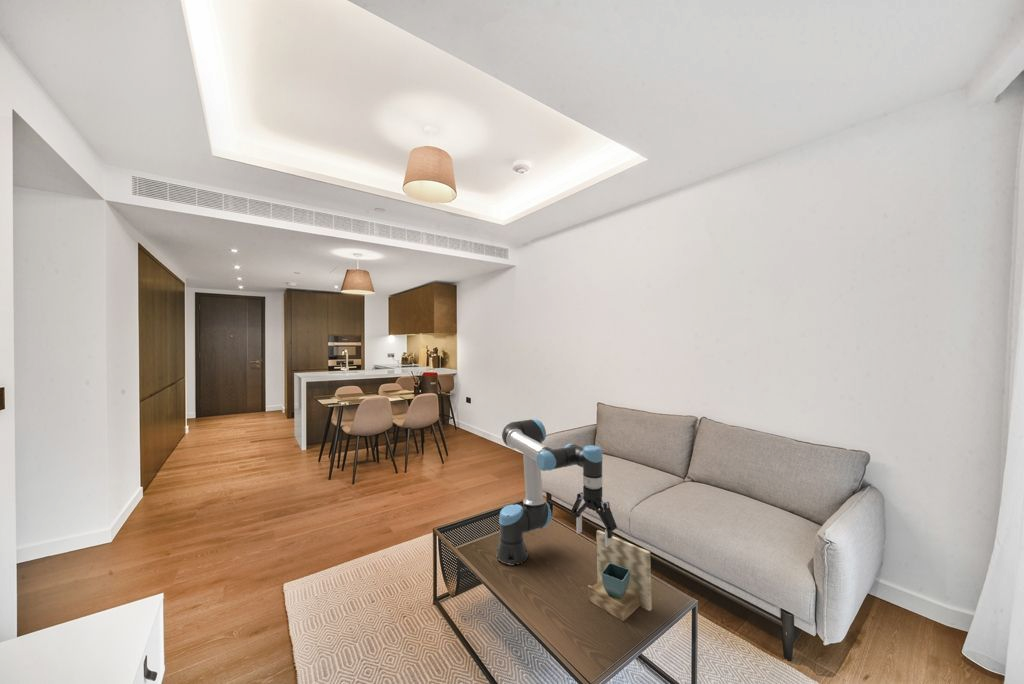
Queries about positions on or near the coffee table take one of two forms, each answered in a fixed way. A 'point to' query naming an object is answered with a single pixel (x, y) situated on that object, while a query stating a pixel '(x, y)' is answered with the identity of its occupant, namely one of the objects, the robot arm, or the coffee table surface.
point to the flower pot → (615, 580)
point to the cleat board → (638, 580)
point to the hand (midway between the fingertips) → (593, 538)
